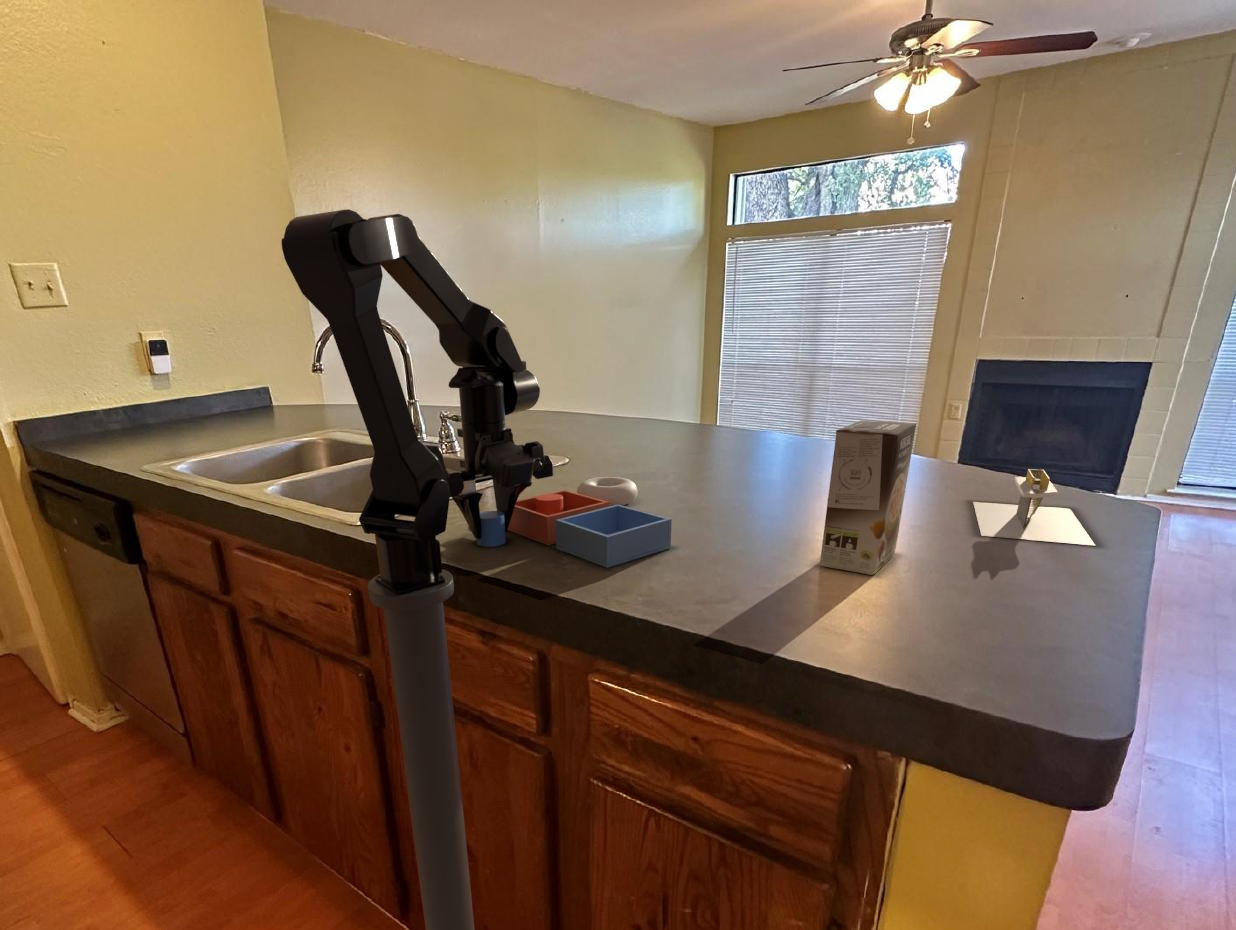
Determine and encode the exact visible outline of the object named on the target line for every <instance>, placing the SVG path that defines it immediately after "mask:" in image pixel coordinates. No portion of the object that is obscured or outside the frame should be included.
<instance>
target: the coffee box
mask: <svg viewBox="0 0 1236 930" xmlns="http://www.w3.org/2000/svg"><path fill="white" fill-rule="evenodd" d="M916 429H917V423H916V422H905V421H901V422H900V421H887V420H886V421H884V420H877V421H873V420H859V421H856V422H854V423H851V424H849V425H847V426H843V427H841V428H838V429H836V430H835V440H834V450H833V454H832V455H833V456H832V464H831V473H830V480H829V489H828V496H827V504H826V511H825V512H826V513H825V520H824V527H823V535H822V542H821V543H822V544H821V551H820V558H819V559H820V560H819V565H820V566H821V567H824V568H832V569H837V570H842V571H849V572H854V573H859V574H864V575H870V576H873V575H875V574H876V573H877V572H878V571H879V570H880V569H881V568H883V566H885V565H886V563H887V562H889V561H890V559H892V558H893V557H894V556H895V555H896V549H897V544H898V539H899V533H900V525H901V520H902V513H903V508H904V502H905V501H904V500H905V495H906V491H907V490H906V489H907V483H908V477H909V472H910V471H909V470H910V465H911V459H912V453H913V447H914V441H915V436H916V435H915V434H916Z"/></svg>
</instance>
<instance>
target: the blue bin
mask: <svg viewBox="0 0 1236 930" xmlns="http://www.w3.org/2000/svg"><path fill="white" fill-rule="evenodd" d="M672 521H673V519H672V518H670V517H666V516H662V515H660V514H659V515H658V514H656V513H651V512H648V511H644V510H639V509H638V508H637V509H636V508H632V507H629V506H626V505H623V506H622V505H614V506H610V507H606V508H602V509H598V510H594V511H590V512H586V513H582V514H578V515H574V516H570V517H566V518H562V519H558V520H556V543H555V549H556V550H559V551H562V552H564V553H567V554H570V555H573V556H575V557H578V558H580V559H583V560H585V561H587V562H591V563H593V564H596V565H598V566H601V567H604V568H605V569H609V568H611V567H615V566H618V565H621V564H625V563H628V562H631V561H634V560H637V559H640V558H643V557H644V558H645V557H647V556H650V555H653V554H656V553H659V552H662V551H666V550H669V549H671V547H672V524H673V523H672Z"/></svg>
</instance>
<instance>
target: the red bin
mask: <svg viewBox="0 0 1236 930" xmlns="http://www.w3.org/2000/svg"><path fill="white" fill-rule="evenodd" d="M548 494H559V495H562V496H563V512H561V513H556V514H552V515H548V516H547V515H544V514H541V513H538V512H536V500H535V498H536V496H537V495H535V496H531V497H525V498H522V499H517V502H516V504H515V507H514V510H513V514H512V517H511V520H510V524H509V527H508V530H507V531H509V532H511V533H514V534H517V535H520V536H522V537H525V538H528V539H530V540H533V541H536V542H538V543H541V544H544V545H545V546H551V545H556V520H558V519H562V518H566V517H570V516H574V515H578V514H582V513H586V512H590V511H594V510H598V509H602V508H606V507H609V502H607V501H604V500H600V499H596V498H593V497H589V496H585V495H582V494H578V493H577V492H573V491H570V490H567V489H564V490H558V491H553V492H549V493H548Z"/></svg>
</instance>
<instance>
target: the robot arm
mask: <svg viewBox="0 0 1236 930" xmlns="http://www.w3.org/2000/svg"><path fill="white" fill-rule="evenodd" d="M280 243H281V250H282V253H283V257H284V261H285V262H286V265H287V267H288V269H289V270H290V273H291V275H292V277H293V279H294V280H295V282H296V284H297V287H298V288H299V290H300V293H302V295H303V296H304V297H305V298H306V299H307V300H308V301H309V302H310V303H311V304H312V305H313V307H314V308H315V309H316V310H318V311H319V313H320V314H321V315H322V316H323V317H324V318H325V320H326V321H327V323H328V325H329V328H330V330H331V333H332V336H333V338H334V342H335V344H336V347H337V350H338V353H339V355H340V359H341V362H342V364H343V366H344V369H345V372H346V375H347V378H348V380H349V384H350V387H351V389H352V392H353V394H354V397H355V400H356V403H357V406H358V408H359V411H360V415H361V417H362V419H363V422H364V425H365V428H366V431H367V433H368V436H369V439H370V442H371V445H372V448H373V451H374V452H373V456H372V460H371V465H370V469H369V478H370V482H371V483H370V484H371V486H372V490H371V493H370V495H368V499H367V501H366V503H365V505H364V507H363V509H362V511H361V513H360V515H359V518H358V522H359V524H360V526H361V528H362V531H363V533H364V534H366V535H370V534H371V535H374V538H375V546H376V555H377V562H378V569H379V575H380V576H378V575H376V576H374V577H375V581H376V582H378V583H379V584H381V585H382V586H384V587H385V588H387V589H388V590H390V591H391V592H393V593H394V594H396V595H402V594H406V593H409V592H413V591H416V590H420V589H423V588H427V587H430V586H434V585H438V584H441V583H445V582H446V577H444V576H442V575H440V573H442V569H443V563H442V561H443V560H442V551H441V542H440V540H439V539H437V537H436V536H438V535H441V534H443V533H445V532H446V530H447V521H448V515H449V506H450V499H452V500H453V501H454V503H455V505H456V506H457V507H458V509H459V511H460V513H461V514H462V516H463V518H464V520H465V522H466V524H467V525H468V526H469V527H470V529H471V531H472V532H471V533H472V535H473V537H474V538H475V539H476V540H477V539H481V520H480V512H481V511H480V502H481V500H482V497H483V492H480V491H477V485H476V484H478V483H484V482H487V481H492V484H493V485H492V486H493V494H494V501H495V506H496V511H500V512H503V513H504V519H505V533H508V531H509V530H508V527H509V524H510V520H511V517H512V514H513V510H514V507H515V504H516V502H517V500H519V497H520V495H521V494H522V493H523V492H524V491H525V490H526V489H527V488H529V487H532V484H533V482H532V480H533V479H532V478H534V479H535V480H541V479H546V478H551V477H553V476H554V462H553V461H552V459H551V458H550V455H548V454H545V453H544V445H543V444H542V443H541V442H539V441H537V440H536V441H529V442H526V443H525V444H523V443H522V444H516V443H515V441H514V434H513V432H512V428H509V427H506V416H509V415H512V414H516V413H520V412H523V411H527V410H530V409H532V408H533V407H534V406H535V405H536V404H537V403H538V401H539V398H540V396H541V395H540V393H541V388H540V385H539V382H538V379H537V378H536V376H535V374H533V373H532V372H531V371H530V370H528V369H527V361H526V360H522V359H521V357H520V353H519V352H518V349H517V347H516V344H515V343H514V341H513V338H512V336H511V334H510V332H509V328H508V327H507V325H506V323H505V321H504V320H502V319H501V318H500V317H499V316H498V315H497V314H496V313H495V312H494V311H492V309H490V308H488V307H486V306H484V305H481V304H479V303H477V302H474V301H472V299H471V298H470V297H468V296H467V295H466V293H465V292H464V291H463V290H462V288H461V287H460V286H459V285H458V283H456V281H455V280H454V278H453V277H452V276H451V275H450V274H449V272H448V271H447V270H446V268H445V267H444V266H443V264H441V262H440V261H439V260H438V259H437V257H436V256H435V255H434V254H433V253H432V251H431V250H430V249H429V247H428V246H427V245H426V244H425V242H424V241H423V240H422V239H421V237H420V236H419V234H418V231H417V227H416V225H415V223H414V222H413V220H412V219H411V218H410V217H409V216H405V215H403V214H401V213H394V214H387V215H380V216H372V217H369V218H367V219H366V218H363V216H362V215H360V214H359V213H358V212H357V211H355V210H352V209H350V208H349V209H339V210H332V211H327V212H326V211H325V212H320V213H319V212H318V213H312V214H307V215H300V216H296V217H294V218H292V219H290V221H289V222H288V224H287V226H286V227H285V230H284V235H283V237H282V238H281V242H280ZM382 268H383V269H384V271H386V273H387V274H388V275H389V276H390V278H391V279H393V280H394V281H395V283H396V284H398V286H399V287H400V288H401V289H402V290H403V291H404V293H405V294H407V296H408V297H409V298H410V299H411V300H412V301H413V302H414V303H415V304H416V305H417V306H418V308H419V309H420V310H421V311H422V313H424V314H425V315H426V317H427V318H429V320H430V321H431V322H432V323H433V324H434V325H435V327H436V329H437V330H438V340H439V345H440V346H441V347H442V350H444V352H445V353H446V355H447V356H448V358H449V359H450V361H451V362H452V363H453V364H454V365H455V366H456V367H458V368H457V371H456V373H455V374H454V376H453V377H452V378H450V381H449V382H448V388H450V389H458V393H459V407H460V420H461V427H460V428H457V429H456V432H457V437H458V438H462V447H463V458H462V459H461V458H460V459H459V468H461V469H464V470H460V471H457V470H455V469H450V468H447V467H446V465H445V461H444V460H445V459H444V455H443V452H442V449H441V448H440V447H439V445H427V444H424V443H423V442H422V441H421V440H420V439H419V437H418V435H417V431H416V429H415V425H414V422H413V419H412V415H411V413H410V409H409V407H408V402H407V399H406V397H405V393H404V390H403V386H402V384H401V380H400V378H399V374H398V371H397V367H396V364H395V361H394V358H393V355H392V351H391V349H390V346H389V342H388V339H387V336H386V332H385V329H384V327H383V323H382V320H381V317H380V314H379V313H380V312H379V310H378V302H379V297H380V292H381V287H382V281H383V274H384V273H383V269H382ZM396 516H401V517H408V518H409V517H411V518H414V519H413V520H408V519H403V518H402V519H401V518H396ZM468 526H467V527H468Z"/></svg>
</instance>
